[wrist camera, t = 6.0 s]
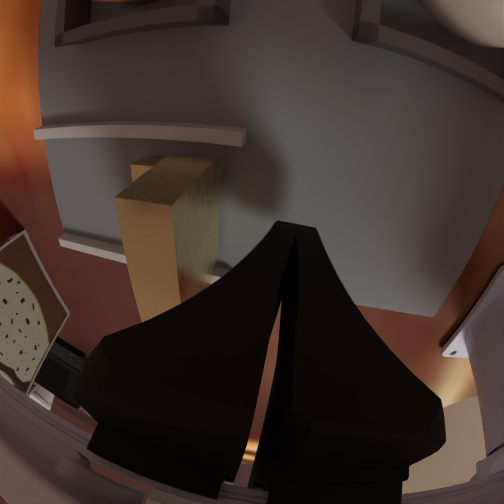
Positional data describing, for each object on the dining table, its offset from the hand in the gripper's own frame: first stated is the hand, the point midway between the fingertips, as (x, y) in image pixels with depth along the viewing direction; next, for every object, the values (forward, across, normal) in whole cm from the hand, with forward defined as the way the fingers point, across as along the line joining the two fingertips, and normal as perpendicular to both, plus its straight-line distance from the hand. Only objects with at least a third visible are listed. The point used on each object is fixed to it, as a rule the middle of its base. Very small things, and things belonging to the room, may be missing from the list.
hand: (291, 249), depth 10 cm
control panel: (+4, +2, -5) cm, 7 cm away
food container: (+4, +22, +10) cm, 25 cm away
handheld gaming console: (+4, +26, +26) cm, 37 cm away
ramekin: (+4, +48, +53) cm, 71 cm away
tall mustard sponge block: (+1, +4, 0) cm, 5 cm away
